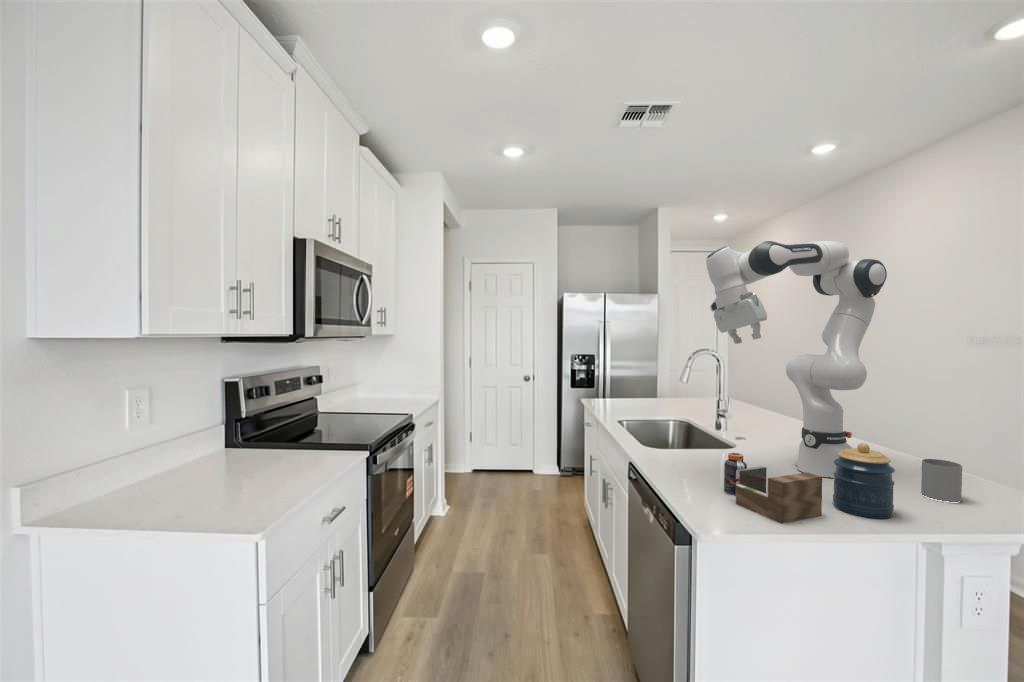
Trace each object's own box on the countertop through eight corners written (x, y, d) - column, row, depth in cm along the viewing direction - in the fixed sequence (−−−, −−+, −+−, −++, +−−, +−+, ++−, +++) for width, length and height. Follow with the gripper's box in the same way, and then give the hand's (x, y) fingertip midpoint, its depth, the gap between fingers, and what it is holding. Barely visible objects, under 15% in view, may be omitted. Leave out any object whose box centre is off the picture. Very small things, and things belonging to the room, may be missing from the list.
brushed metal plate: (762, 494, 136) (762, 466, 135) (766, 495, 134) (766, 467, 134) (728, 499, 131) (729, 470, 131) (732, 501, 130) (732, 472, 130)
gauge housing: (773, 497, 134) (774, 462, 134) (821, 515, 121) (822, 476, 121) (735, 503, 129) (736, 467, 129) (781, 523, 116) (782, 482, 116)
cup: (951, 494, 137) (952, 460, 136) (968, 504, 129) (969, 468, 129) (915, 491, 139) (916, 457, 139) (929, 501, 132) (930, 465, 131)
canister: (897, 523, 116) (899, 452, 116) (833, 512, 123) (835, 445, 123) (889, 506, 127) (891, 441, 127) (831, 497, 134) (832, 435, 134)
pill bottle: (749, 496, 135) (749, 457, 135) (726, 495, 136) (727, 456, 136) (743, 489, 141) (743, 451, 140) (721, 488, 142) (722, 450, 142)
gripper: (763, 287, 137) (779, 333, 136) (724, 303, 157) (737, 343, 156) (744, 292, 136) (760, 338, 135) (707, 308, 156) (720, 348, 155)
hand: (747, 341), depth 146 cm, fingers open, 8 cm apart
